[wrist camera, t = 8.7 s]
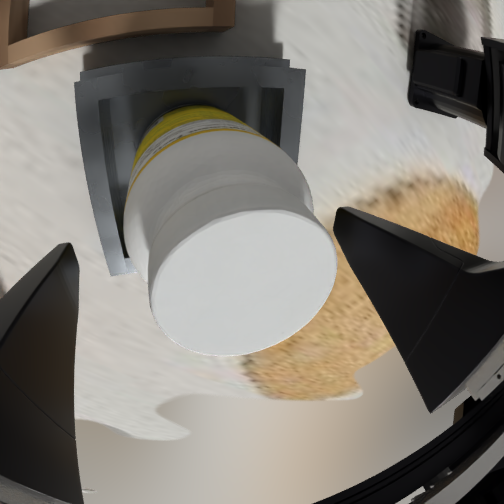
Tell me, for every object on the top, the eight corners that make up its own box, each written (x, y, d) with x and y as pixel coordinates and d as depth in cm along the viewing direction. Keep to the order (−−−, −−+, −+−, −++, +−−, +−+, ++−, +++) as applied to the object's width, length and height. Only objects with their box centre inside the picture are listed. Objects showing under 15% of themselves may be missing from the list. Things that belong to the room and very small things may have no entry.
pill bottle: (243, 203, 18) (329, 350, 10) (140, 210, 16) (142, 384, 8) (252, 102, 15) (394, 176, 6) (135, 103, 13) (88, 183, 4)
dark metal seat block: (282, 59, 14) (316, 60, 11) (270, 222, 21) (293, 255, 18) (84, 71, 12) (62, 74, 8) (110, 244, 18) (104, 284, 15)
